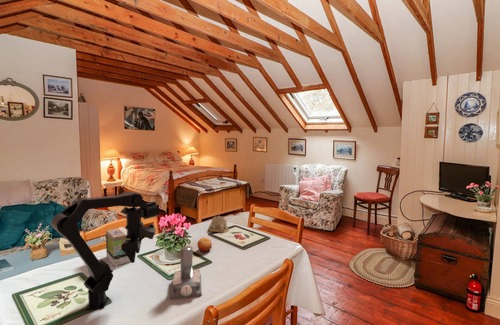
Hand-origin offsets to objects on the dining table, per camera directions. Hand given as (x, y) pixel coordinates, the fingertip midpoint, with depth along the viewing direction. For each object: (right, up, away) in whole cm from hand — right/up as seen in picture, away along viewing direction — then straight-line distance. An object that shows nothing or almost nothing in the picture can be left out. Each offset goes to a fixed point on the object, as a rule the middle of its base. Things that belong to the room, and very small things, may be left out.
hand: (135, 257), depth 113 cm
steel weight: (+21, -9, +2) cm, 23 cm away
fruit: (+23, -10, +39) cm, 46 cm away
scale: (+22, -13, +1) cm, 25 cm away
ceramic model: (+27, -7, +73) cm, 78 cm away
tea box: (-20, -11, +28) cm, 36 cm away
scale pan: (+21, -11, +3) cm, 24 cm away
